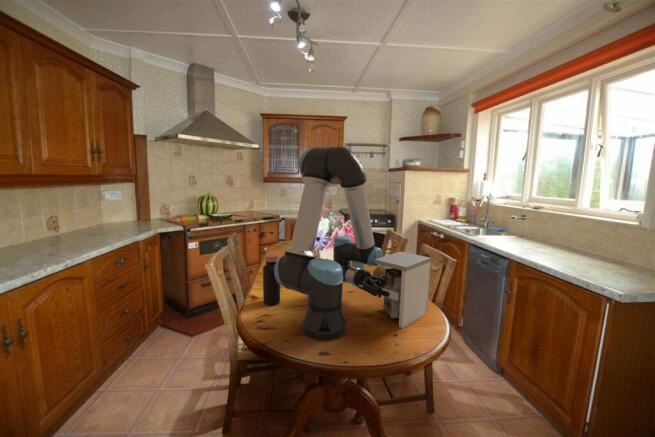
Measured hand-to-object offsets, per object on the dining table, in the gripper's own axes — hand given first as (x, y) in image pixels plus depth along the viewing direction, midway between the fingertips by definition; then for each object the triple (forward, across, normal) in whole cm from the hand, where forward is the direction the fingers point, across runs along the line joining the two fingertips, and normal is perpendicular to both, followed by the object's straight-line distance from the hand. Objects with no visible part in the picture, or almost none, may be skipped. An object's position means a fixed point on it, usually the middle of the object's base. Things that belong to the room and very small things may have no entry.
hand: (406, 292), depth 110 cm
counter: (-4, -3, -10) cm, 12 cm away
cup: (-46, -29, -11) cm, 55 cm away
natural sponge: (-27, -24, -11) cm, 38 cm away
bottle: (-46, +27, -11) cm, 54 cm away
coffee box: (-4, 0, -9) cm, 10 cm away
